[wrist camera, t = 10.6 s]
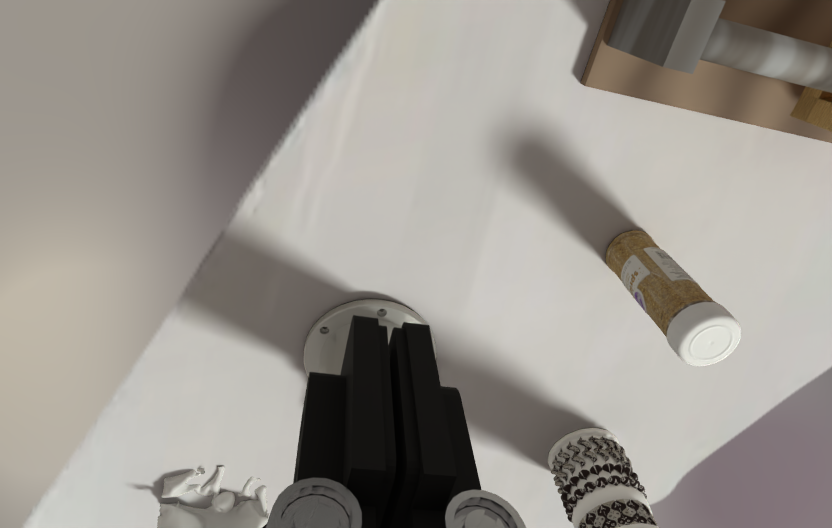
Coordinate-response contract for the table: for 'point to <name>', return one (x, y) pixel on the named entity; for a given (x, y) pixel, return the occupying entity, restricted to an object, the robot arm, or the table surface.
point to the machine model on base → (718, 57)
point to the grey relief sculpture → (220, 521)
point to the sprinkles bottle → (673, 300)
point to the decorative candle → (598, 482)
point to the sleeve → (815, 107)
